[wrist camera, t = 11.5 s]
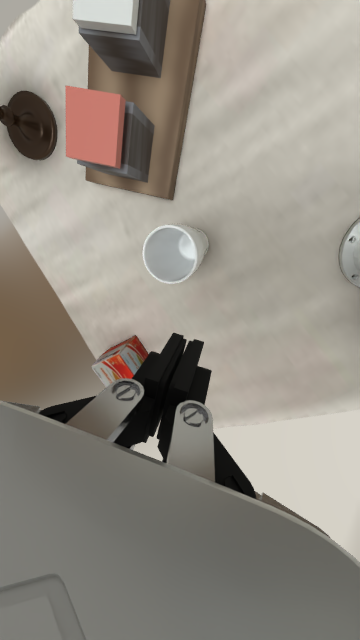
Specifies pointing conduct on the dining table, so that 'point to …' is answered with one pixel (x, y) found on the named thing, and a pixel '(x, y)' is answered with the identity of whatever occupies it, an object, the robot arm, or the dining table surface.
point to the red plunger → (94, 126)
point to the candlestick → (30, 125)
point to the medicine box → (120, 361)
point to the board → (148, 91)
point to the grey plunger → (107, 15)
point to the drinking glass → (174, 252)
